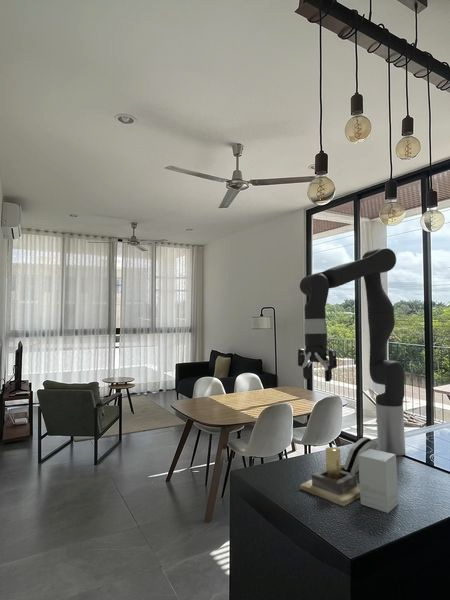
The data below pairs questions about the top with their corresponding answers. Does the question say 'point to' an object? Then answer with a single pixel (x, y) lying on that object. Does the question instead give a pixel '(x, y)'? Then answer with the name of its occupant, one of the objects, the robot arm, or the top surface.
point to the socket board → (332, 496)
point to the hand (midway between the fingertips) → (317, 380)
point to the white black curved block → (356, 450)
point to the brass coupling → (333, 463)
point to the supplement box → (378, 480)
